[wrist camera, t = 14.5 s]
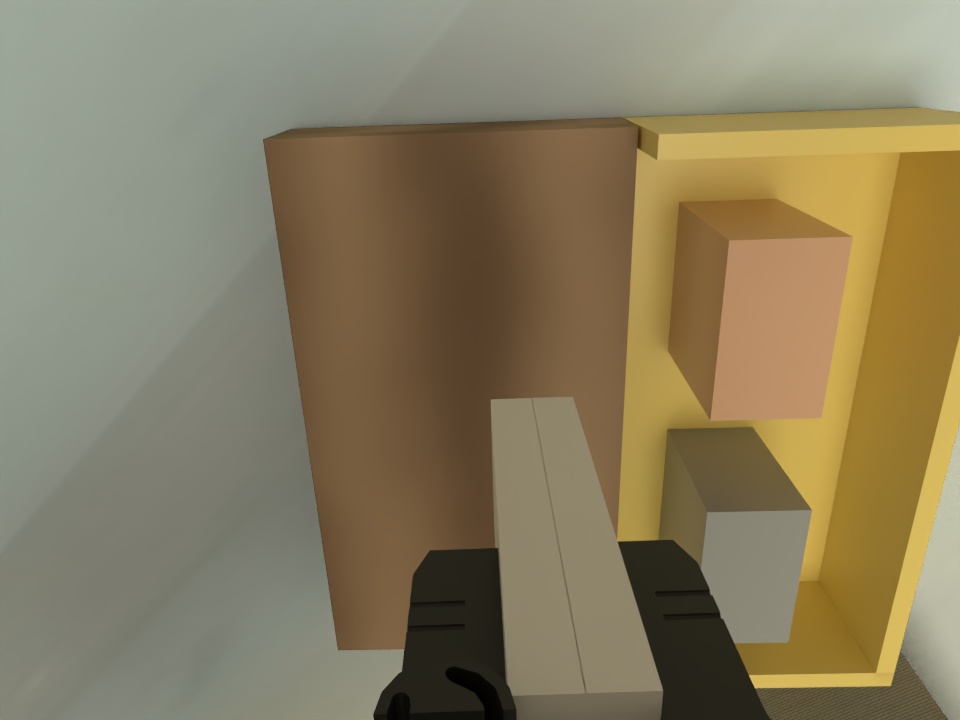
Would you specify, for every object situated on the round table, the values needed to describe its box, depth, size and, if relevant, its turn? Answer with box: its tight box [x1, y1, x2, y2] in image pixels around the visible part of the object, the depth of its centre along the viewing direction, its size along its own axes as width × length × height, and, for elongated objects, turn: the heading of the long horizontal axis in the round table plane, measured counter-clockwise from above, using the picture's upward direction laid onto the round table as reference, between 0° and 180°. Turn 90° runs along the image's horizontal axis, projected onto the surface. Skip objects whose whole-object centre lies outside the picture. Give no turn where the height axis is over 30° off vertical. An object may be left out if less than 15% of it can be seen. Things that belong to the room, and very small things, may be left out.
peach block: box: [668, 199, 853, 421], centre depth 21 cm, size 5×5×3 cm
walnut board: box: [263, 118, 638, 650], centre depth 24 cm, size 10×18×3 cm, turn 2°
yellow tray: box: [617, 107, 960, 688], centre depth 23 cm, size 9×18×5 cm, turn 2°
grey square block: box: [658, 427, 812, 643], centre depth 24 cm, size 5×5×3 cm
